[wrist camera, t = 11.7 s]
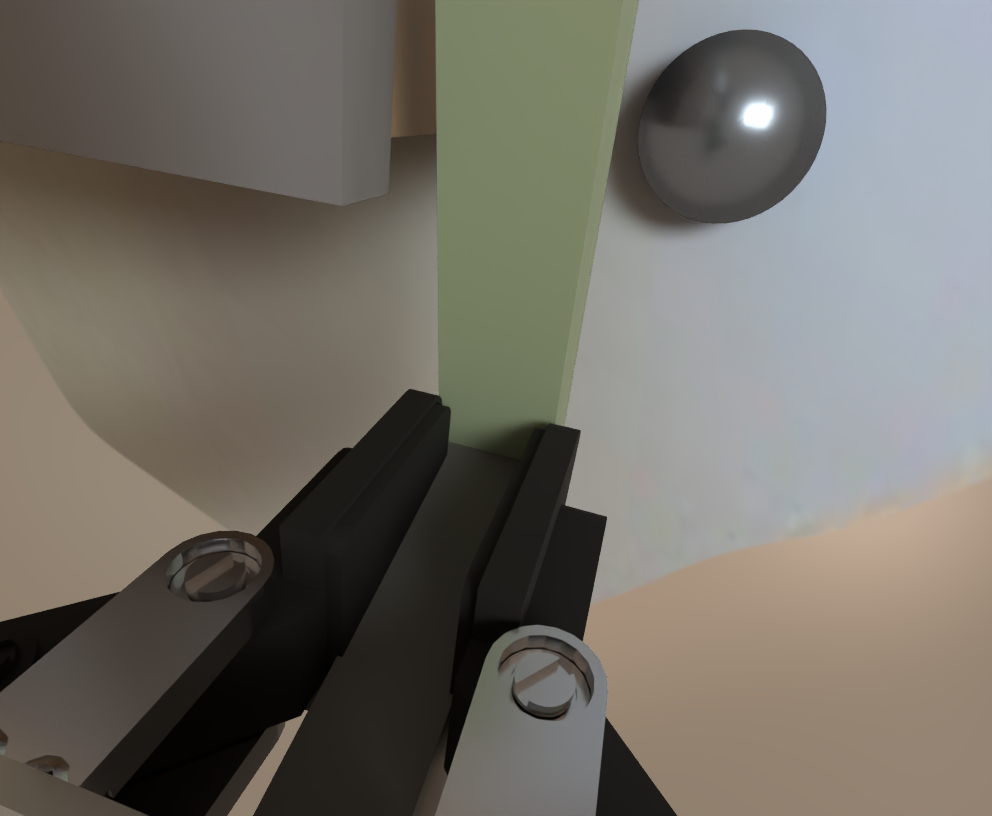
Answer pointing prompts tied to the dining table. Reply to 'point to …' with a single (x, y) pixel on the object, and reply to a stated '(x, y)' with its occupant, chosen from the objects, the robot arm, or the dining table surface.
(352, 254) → the dining table surface
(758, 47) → the grey rounded piece
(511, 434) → the scraper tool
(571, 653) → the robot arm
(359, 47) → the walnut cabinet
